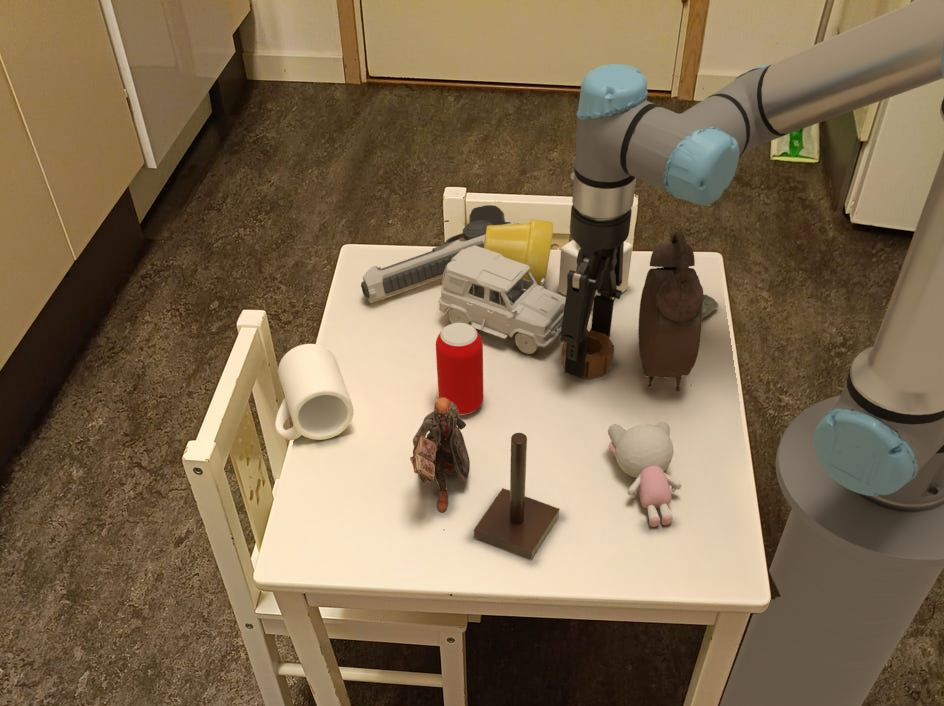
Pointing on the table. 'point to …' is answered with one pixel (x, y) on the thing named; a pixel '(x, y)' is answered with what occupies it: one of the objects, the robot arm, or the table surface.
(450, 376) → the beverage can
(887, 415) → the robot arm
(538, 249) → the flower pot
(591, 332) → the ring
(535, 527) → the peg stand
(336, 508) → the table surface
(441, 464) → the figurine
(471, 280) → the toy car
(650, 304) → the alarm clock
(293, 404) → the mug
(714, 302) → the stone
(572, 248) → the container
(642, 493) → the toy
